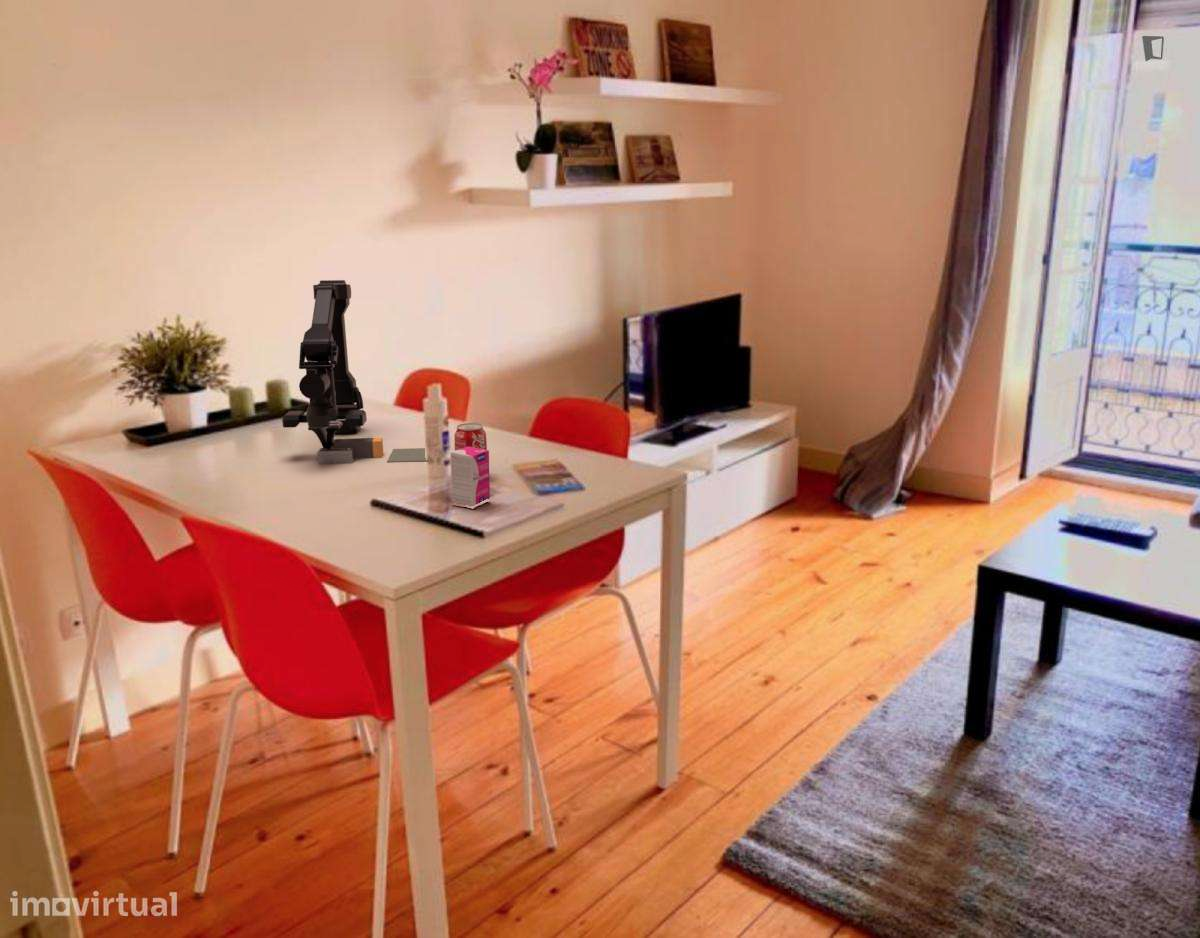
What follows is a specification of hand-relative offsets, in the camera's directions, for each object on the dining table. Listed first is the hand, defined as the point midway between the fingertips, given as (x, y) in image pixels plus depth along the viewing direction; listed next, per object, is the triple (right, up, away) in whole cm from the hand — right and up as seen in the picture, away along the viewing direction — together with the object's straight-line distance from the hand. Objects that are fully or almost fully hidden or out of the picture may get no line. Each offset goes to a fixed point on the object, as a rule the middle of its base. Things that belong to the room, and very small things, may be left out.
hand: (327, 453), depth 232 cm
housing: (+3, -1, +1) cm, 3 cm away
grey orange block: (+7, -1, +1) cm, 7 cm away
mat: (+20, 0, +2) cm, 20 cm away
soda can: (+37, -6, -16) cm, 41 cm away
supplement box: (+39, -11, -33) cm, 53 cm away
